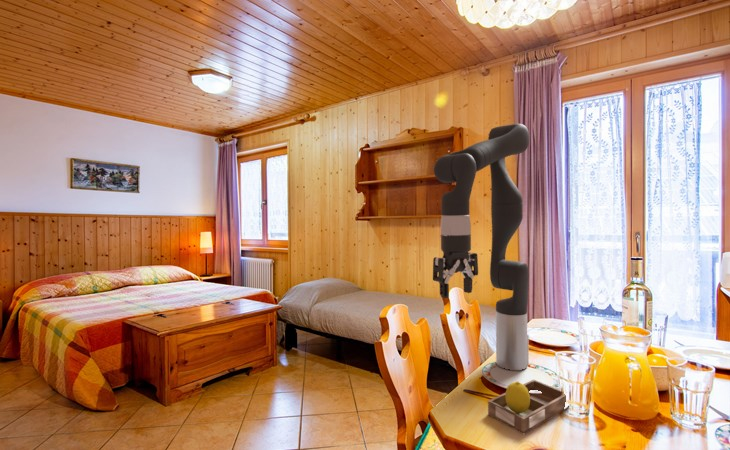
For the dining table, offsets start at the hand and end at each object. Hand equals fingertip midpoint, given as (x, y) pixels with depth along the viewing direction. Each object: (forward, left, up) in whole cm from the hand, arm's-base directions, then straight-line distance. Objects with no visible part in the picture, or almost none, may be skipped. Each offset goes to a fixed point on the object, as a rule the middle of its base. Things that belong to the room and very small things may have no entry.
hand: (456, 295), depth 99 cm
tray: (-10, +14, -28) cm, 33 cm away
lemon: (-6, +14, -28) cm, 31 cm away
